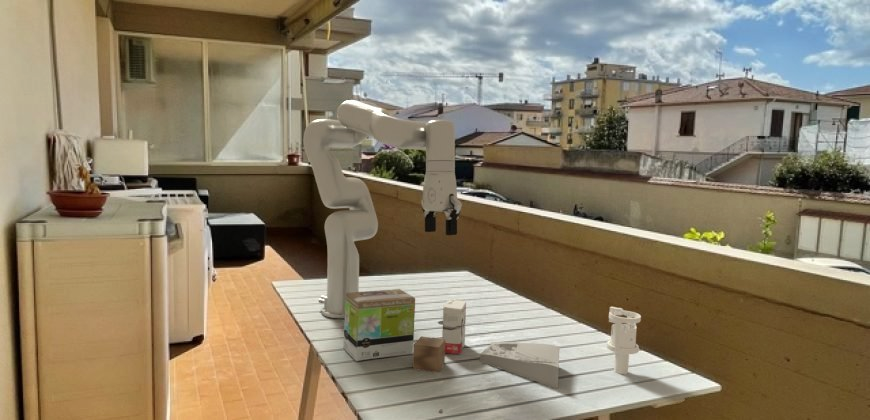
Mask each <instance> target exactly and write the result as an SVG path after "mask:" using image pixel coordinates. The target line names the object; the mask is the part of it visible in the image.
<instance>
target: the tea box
mask: <svg viewBox="0 0 870 420" xmlns="http://www.w3.org/2000/svg"><path fill="white" fill-rule="evenodd" d="M415 313H416V297H414V296H413V295H411V294H409V293H407V292H406V291H404V290H402V289H401V288H397V289H383V290H381V289H380V290H369V291H367V290H366V291H359V292H350V293H346V302H345V318H344V326H343V327H344V329H343V330H344V331H343V349H344V350H345V352H346V353H347V354H348V355H349V356H350V357H351V358H352V359H353V360H354V361H355V362H360V361H366V360H374V359H379V358H380V359H381V358H389V357H390V358H391V357H397V356H398V357H399V356H408V355H409V356H410V355H412V354H414V338H415V337H414V336H415V335H414V334H415V318H416V317H415V316H416V314H415Z"/></svg>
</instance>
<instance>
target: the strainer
mask: <svg viewBox="0 0 870 420" xmlns="http://www.w3.org/2000/svg"><path fill="white" fill-rule="evenodd" d="M622 316H625V317H622ZM641 320H642V316H641V314H639V313H637V312H635V311H630V310H624V308H622V307H616V306H609V312H608V322H609V323H612V325H611V329H610V339H609V340H607V341H606V349H608V350H609V351H611V352H613V353H615V354H614V366H613V367H614V368H613V371H614V373H616V374H620V375H627V374H628V373H629V358H630V355H635V354H638V353H639V348H640V347H639V345H638V344H637V343H636V342H637V324H638V323H640V322H641Z"/></svg>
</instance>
